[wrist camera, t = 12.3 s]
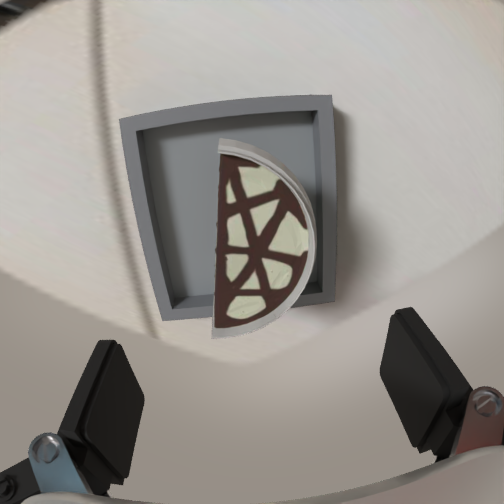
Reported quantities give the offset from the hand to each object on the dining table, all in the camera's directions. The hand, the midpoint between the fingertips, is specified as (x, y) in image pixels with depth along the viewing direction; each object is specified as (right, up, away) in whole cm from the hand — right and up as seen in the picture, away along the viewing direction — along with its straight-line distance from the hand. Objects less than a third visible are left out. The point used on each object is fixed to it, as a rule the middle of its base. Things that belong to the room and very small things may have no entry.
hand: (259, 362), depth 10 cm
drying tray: (-2, +8, +17) cm, 19 cm away
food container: (0, +7, +16) cm, 18 cm away
